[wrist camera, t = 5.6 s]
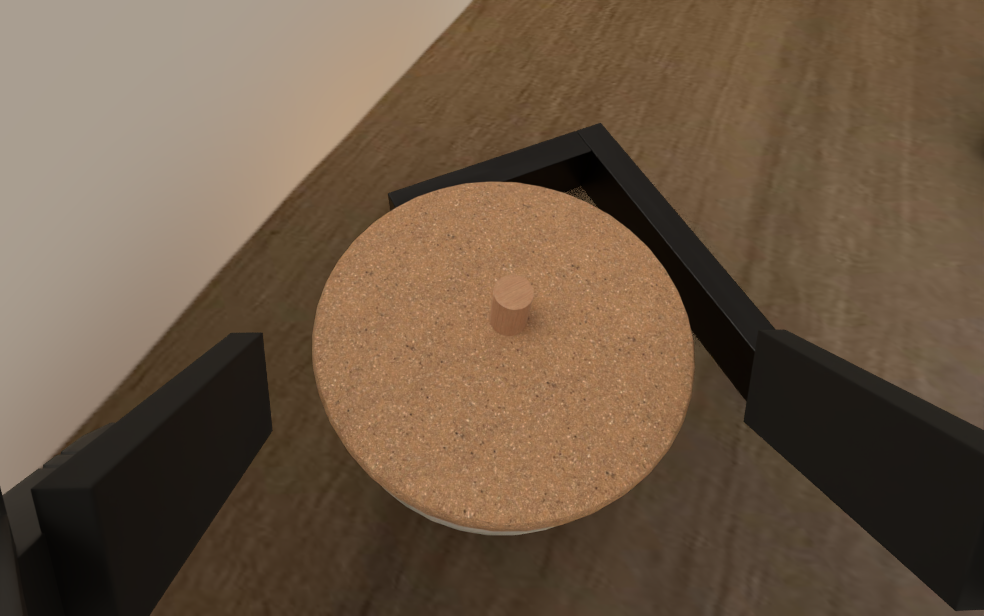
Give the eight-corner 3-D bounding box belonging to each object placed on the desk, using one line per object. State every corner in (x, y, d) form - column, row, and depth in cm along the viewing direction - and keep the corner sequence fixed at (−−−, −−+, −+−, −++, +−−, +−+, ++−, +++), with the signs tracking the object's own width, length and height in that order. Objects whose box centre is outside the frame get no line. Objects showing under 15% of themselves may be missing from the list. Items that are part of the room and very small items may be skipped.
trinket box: (674, 455, 21) (814, 360, 13) (439, 622, 18) (429, 635, 10) (525, 262, 25) (560, 98, 17) (311, 368, 22) (229, 226, 14)
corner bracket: (559, 542, 19) (573, 534, 17) (392, 227, 26) (387, 192, 24) (788, 408, 22) (825, 386, 20) (589, 158, 29) (601, 122, 27)
